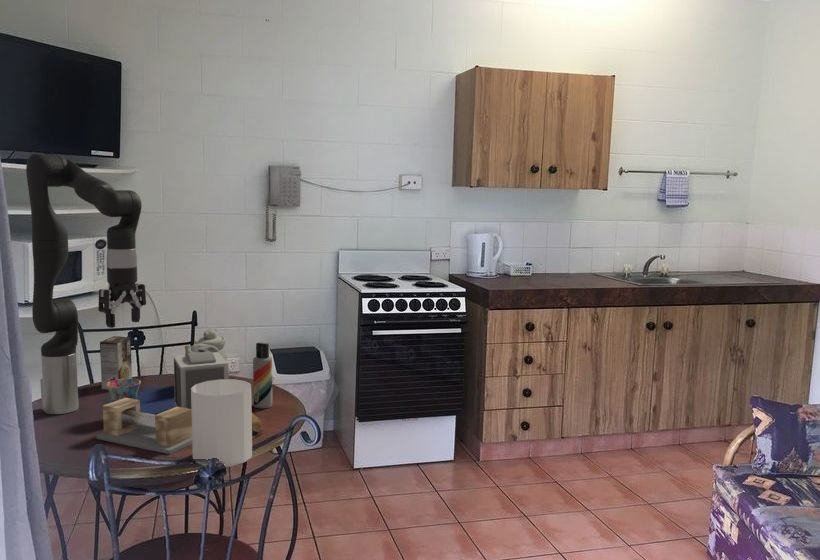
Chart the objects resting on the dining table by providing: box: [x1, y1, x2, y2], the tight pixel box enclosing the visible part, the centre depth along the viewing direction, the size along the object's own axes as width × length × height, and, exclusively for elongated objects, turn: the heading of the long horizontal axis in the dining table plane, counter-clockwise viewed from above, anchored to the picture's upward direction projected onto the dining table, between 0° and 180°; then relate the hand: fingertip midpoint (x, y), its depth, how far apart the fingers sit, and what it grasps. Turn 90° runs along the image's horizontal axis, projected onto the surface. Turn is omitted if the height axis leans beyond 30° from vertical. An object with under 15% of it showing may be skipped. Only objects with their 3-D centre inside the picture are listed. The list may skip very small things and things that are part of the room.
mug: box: [106, 378, 142, 414], centre depth 202 cm, size 12×9×11 cm
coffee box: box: [99, 335, 133, 391], centre depth 232 cm, size 9×6×16 cm
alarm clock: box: [173, 351, 230, 409], centre depth 206 cm, size 18×13×18 cm
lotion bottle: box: [252, 342, 273, 409], centre depth 214 cm, size 6×6×20 cm
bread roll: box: [252, 412, 263, 440], centre depth 190 cm, size 10×10×8 cm
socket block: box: [154, 406, 192, 447], centre depth 181 cm, size 5×8×8 cm, turn 156°
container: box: [191, 378, 253, 468], centre depth 173 cm, size 14×14×18 cm
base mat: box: [96, 428, 192, 455], centre depth 185 cm, size 25×12×1 cm, turn 66°
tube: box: [121, 410, 156, 431], centre depth 185 cm, size 16×5×5 cm, turn 66°
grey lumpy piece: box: [184, 327, 228, 362], centre depth 236 cm, size 16×15×19 cm
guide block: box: [102, 398, 141, 436], centre depth 188 cm, size 5×8×8 cm, turn 156°
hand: (123, 324), depth 188 cm, fingers open, 8 cm apart
